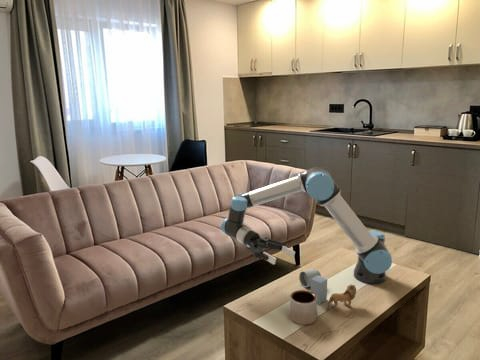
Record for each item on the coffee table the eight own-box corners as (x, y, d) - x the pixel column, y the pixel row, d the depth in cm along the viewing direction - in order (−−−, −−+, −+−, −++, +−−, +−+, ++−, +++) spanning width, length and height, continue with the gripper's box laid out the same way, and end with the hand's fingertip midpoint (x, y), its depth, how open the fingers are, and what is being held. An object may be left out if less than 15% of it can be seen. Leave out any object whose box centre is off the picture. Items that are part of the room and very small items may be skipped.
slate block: (310, 299, 173) (311, 279, 171) (317, 295, 177) (317, 275, 174) (319, 304, 170) (320, 282, 167) (326, 299, 173) (327, 279, 171)
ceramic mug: (322, 286, 185) (322, 271, 183) (308, 290, 181) (308, 274, 180) (308, 277, 194) (308, 262, 193) (294, 281, 191) (295, 266, 189)
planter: (289, 324, 155) (289, 302, 153) (289, 309, 166) (290, 289, 164) (317, 326, 154) (317, 304, 152) (315, 311, 164) (316, 290, 162)
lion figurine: (350, 300, 172) (351, 281, 170) (358, 305, 168) (359, 286, 166) (323, 308, 166) (323, 289, 164) (331, 314, 162) (331, 294, 160)
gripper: (264, 240, 189) (299, 260, 176) (227, 250, 171) (264, 272, 157) (267, 226, 187) (303, 244, 174) (231, 234, 169) (268, 256, 155)
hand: (285, 258), depth 165 cm, fingers open, 13 cm apart
